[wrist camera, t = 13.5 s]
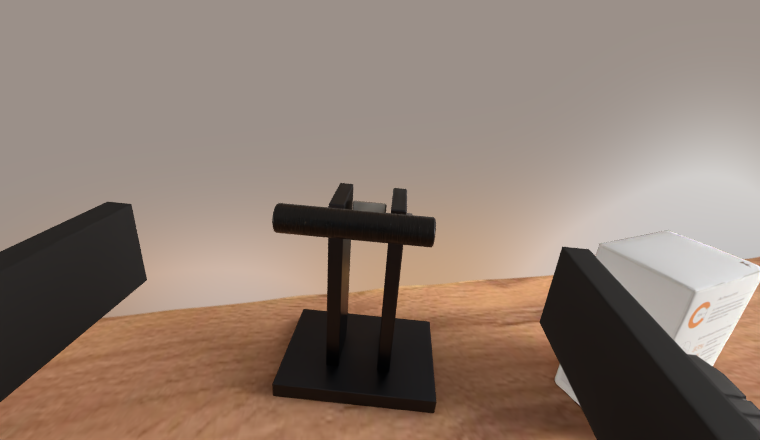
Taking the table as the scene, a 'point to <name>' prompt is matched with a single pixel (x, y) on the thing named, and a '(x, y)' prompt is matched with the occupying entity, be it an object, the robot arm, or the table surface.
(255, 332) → the table surface
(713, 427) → the robot arm
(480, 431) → the table surface
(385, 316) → the black lever stand
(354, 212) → the latch lever
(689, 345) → the small box
